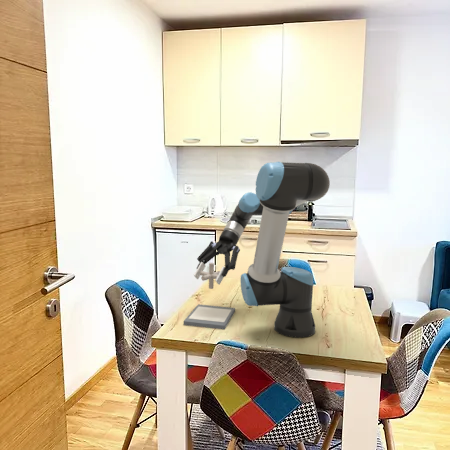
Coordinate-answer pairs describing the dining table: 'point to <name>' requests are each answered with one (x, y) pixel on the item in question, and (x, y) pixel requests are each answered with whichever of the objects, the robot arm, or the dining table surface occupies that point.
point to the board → (210, 316)
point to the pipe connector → (210, 275)
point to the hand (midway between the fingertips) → (206, 279)
